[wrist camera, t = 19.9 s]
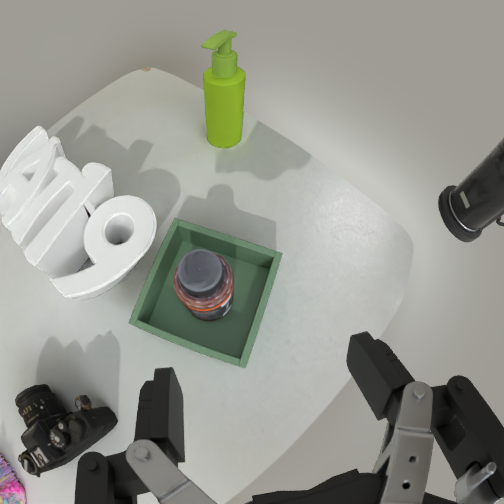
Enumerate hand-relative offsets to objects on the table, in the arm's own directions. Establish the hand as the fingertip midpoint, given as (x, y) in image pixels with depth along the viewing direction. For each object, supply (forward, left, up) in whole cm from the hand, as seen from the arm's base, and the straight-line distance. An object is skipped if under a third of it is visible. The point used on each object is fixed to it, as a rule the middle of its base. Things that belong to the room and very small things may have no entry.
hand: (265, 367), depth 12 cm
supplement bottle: (+7, -6, -22) cm, 24 cm away
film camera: (+20, +19, -23) cm, 36 cm away
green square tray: (+7, -6, -23) cm, 25 cm away
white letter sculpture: (+32, -9, -23) cm, 40 cm away
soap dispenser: (+15, -32, -23) cm, 42 cm away
